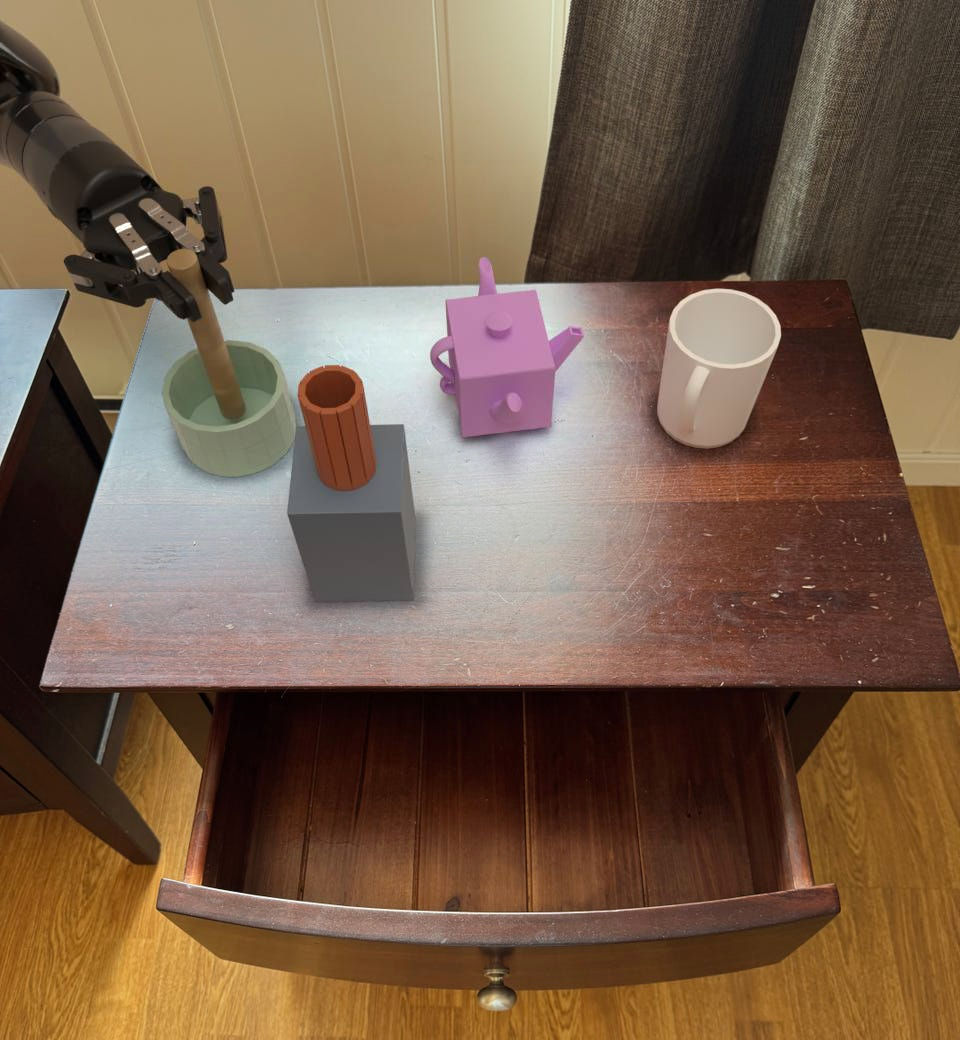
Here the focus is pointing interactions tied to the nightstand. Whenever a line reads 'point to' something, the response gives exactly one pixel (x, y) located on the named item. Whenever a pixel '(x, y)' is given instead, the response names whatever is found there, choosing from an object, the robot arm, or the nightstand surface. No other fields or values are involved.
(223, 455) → the bowl
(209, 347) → the stick
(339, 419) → the holder
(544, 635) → the nightstand surface
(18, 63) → the robot arm
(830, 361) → the nightstand surface
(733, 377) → the mug
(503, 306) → the teapot
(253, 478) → the nightstand surface
